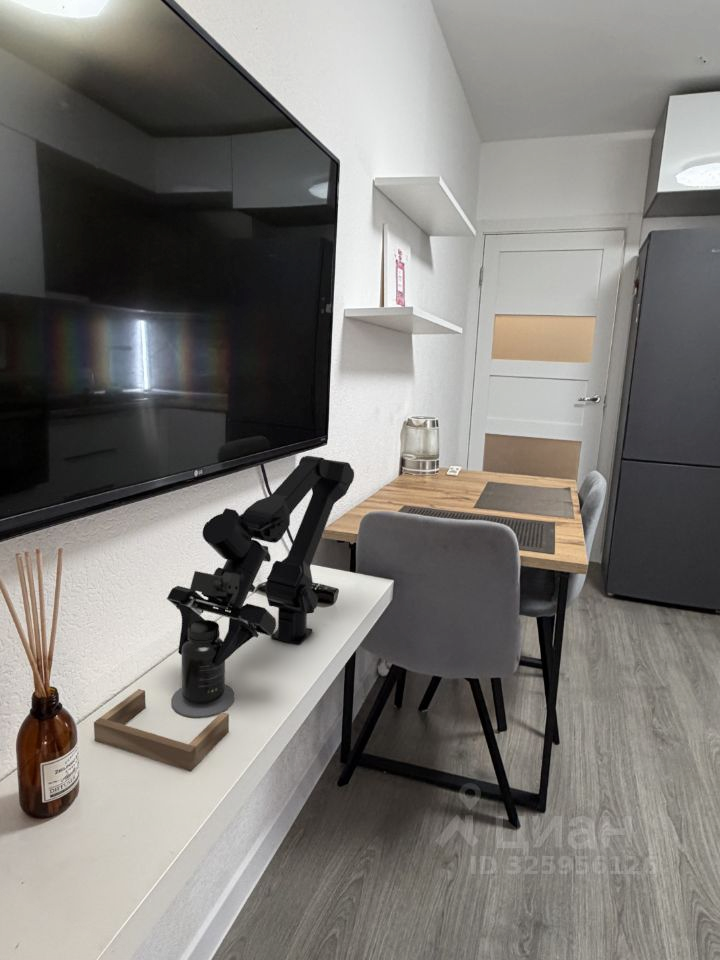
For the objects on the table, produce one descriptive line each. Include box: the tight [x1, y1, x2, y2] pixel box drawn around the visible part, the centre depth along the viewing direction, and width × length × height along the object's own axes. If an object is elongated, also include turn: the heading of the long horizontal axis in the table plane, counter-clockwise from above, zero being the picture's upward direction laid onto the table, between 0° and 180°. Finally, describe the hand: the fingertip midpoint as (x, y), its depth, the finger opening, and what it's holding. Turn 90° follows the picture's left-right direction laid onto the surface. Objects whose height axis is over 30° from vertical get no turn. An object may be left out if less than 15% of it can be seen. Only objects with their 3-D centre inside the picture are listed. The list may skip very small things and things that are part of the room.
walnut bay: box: [93, 688, 230, 772], centre depth 88 cm, size 10×16×3 cm, turn 70°
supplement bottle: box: [181, 619, 226, 704], centre depth 96 cm, size 7×7×12 cm
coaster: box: [170, 683, 236, 719], centre depth 97 cm, size 10×10×1 cm
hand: (198, 659), depth 95 cm, fingers closed on supplement bottle, 7 cm apart
